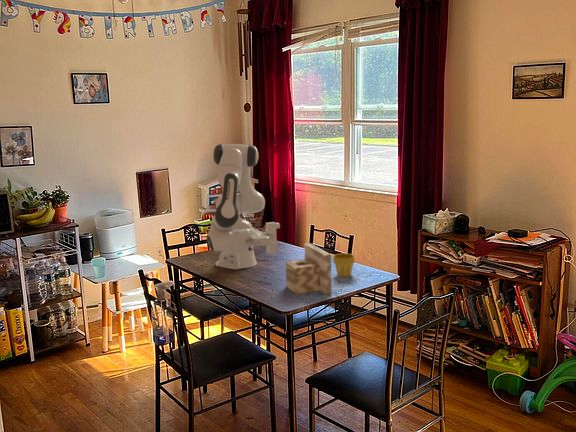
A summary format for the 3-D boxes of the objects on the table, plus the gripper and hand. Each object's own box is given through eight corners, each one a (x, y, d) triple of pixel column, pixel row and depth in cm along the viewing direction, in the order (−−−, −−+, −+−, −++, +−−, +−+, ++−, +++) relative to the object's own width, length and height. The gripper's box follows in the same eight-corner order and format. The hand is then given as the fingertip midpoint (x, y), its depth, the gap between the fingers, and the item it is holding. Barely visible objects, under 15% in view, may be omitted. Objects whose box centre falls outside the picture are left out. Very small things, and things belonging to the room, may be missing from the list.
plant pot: (336, 278, 280) (336, 259, 278) (331, 272, 290) (331, 254, 288) (357, 277, 281) (356, 257, 279) (351, 271, 291) (351, 252, 289)
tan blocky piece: (300, 298, 254) (299, 258, 250) (282, 283, 276) (280, 246, 273) (331, 293, 259) (330, 254, 256) (311, 278, 281) (310, 243, 278)
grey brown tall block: (268, 254, 261) (267, 223, 258) (266, 252, 263) (265, 222, 261) (280, 252, 263) (279, 222, 260) (278, 251, 265) (277, 221, 263)
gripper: (250, 236, 247) (280, 233, 251) (237, 227, 266) (266, 224, 270) (250, 251, 248) (280, 247, 253) (238, 240, 267) (266, 237, 271)
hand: (273, 235), depth 262 cm, fingers closed on grey brown tall block, 3 cm apart
